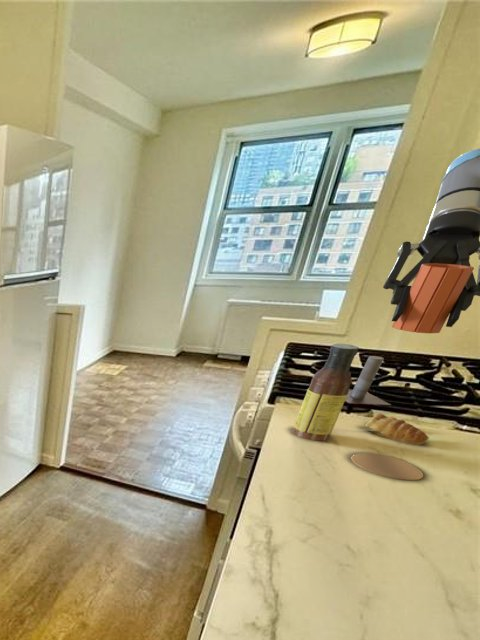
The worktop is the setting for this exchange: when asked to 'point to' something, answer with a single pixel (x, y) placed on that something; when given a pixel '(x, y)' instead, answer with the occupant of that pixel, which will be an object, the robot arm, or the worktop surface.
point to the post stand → (366, 384)
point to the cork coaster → (387, 466)
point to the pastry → (396, 430)
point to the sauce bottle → (326, 395)
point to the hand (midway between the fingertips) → (423, 319)
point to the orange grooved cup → (432, 297)
